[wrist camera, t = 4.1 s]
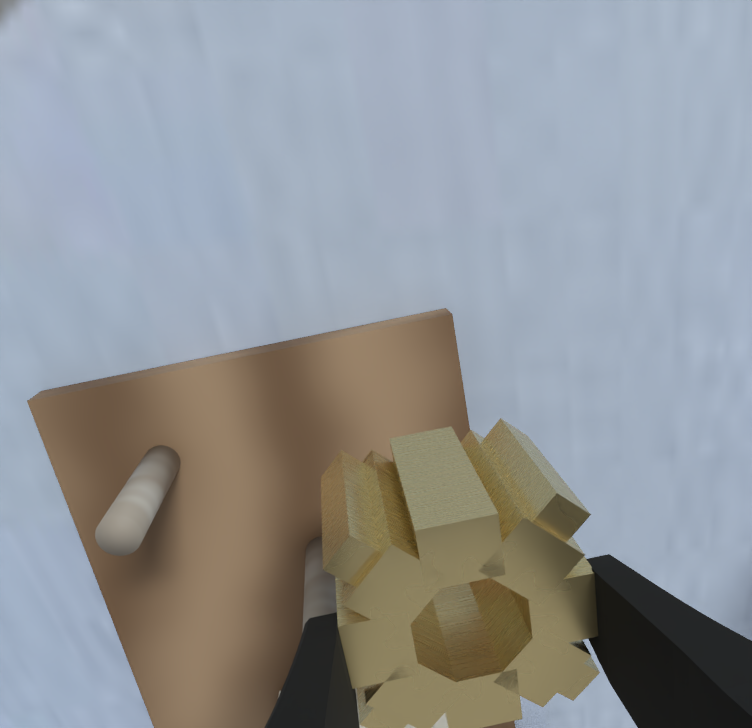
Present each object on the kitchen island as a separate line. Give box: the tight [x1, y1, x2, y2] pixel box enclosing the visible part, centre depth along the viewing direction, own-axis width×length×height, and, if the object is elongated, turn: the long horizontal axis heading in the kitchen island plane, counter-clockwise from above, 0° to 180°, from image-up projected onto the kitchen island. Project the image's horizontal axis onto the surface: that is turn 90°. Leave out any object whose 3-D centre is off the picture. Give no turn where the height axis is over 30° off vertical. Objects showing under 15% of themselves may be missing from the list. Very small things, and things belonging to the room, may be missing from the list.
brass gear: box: [321, 419, 600, 728], centre depth 14 cm, size 5×5×4 cm
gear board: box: [27, 308, 515, 728], centre depth 21 cm, size 14×22×6 cm, turn 11°
